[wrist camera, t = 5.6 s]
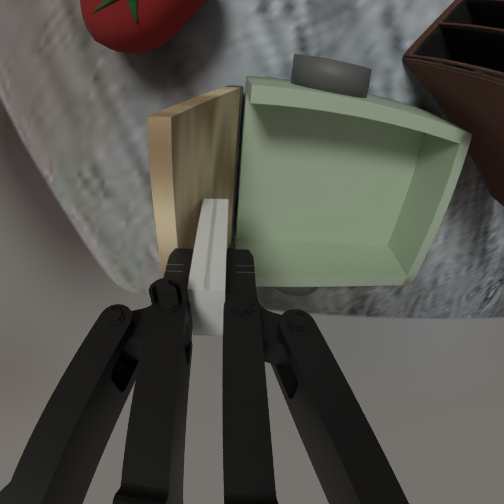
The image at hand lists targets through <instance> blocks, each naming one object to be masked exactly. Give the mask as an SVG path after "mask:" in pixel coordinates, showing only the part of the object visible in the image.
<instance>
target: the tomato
mask: <svg viewBox="0 0 504 504" xmlns="http://www.w3.org/2000/svg"><path fill="white" fill-rule="evenodd" d="M206 1H207V0H80V3H81V11H82V16H83V20H84V23H85V25H86V28H87V30H88V31H89V33H90V34H91V35H92V37H93V38H94V40H95V41H96V42H98V43H100V44H102V45H104V46H106V47H108V48H110V49H112V50H115V51H118V52H127V53H134V54H137V53H142V52H146V51H151V50H156V49H157V48H159V47H160V46H162V45H163V44H165V43H166V42H168V41H169V40H170V39H172V38H173V37H175V36H176V34H177V33H178V32H179V31H180V30H181V29H182V28H183V27H184V26H185V24H186V23H187V22H188V21H189V20H190V19H191V18H192V17H193V16H194V15H195V14H196V13H197V12H198V11H199V10H200V9H201V8H202V7H203V6H204V5H205V3H206Z"/></svg>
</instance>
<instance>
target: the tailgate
mask: <svg viewBox="0 0 504 504" xmlns="http://www.w3.org/2000/svg"><path fill="white" fill-rule="evenodd" d="M242 99H243V87H242V86H225V87H223V88H220V89H217V90H214V91H211V92H208V93H205V94H203V95H200V96H197V97H194V98H192V99H189V100H186V101H184V102H181V103H179V104H176V105H174V106H171V107H169V108H166V109H164V110H162V111H159V112H157V113H155V114H152V115H150V116H148V117H147V126H148V146H149V161H150V175H151V186H152V197H153V206H154V215H155V224H156V232H157V240H158V247H159V254H160V261H161V267H162V274H163V277H164V273H165V269H166V265H167V262H168V258H169V255H170V254H171V253H172V252H173V250H174V249H175V248H185V249H194V245H195V240H196V234H197V229H198V223H199V218H200V213H201V208H202V203H203V199H229V200H228V233H227V249H228V248H229V246H230V244H231V242H233V240H234V223H235V205H236V188H237V171H238V156H239V141H240V126H241V113H242Z"/></svg>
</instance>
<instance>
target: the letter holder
mask: <svg viewBox="0 0 504 504" xmlns="http://www.w3.org/2000/svg"><path fill="white" fill-rule="evenodd" d="M403 60H404V61H405V62H406V63H407V64H408V66H409V67H410V68H411V69H412V70H413V71H414V72H415V74H416V75H417V76H418V77H419V78H420V80H421V81H422V82H423V83H424V84H425V86H426V87H427V88H428V90H429V91H430V92H431V94H432V95H433V96H434V98H435V99H436V101H437V102H438V103H439V105H440V106H441V108H442V109H443V111H444V112H445V114H446V115H447V117H448V118H449V120H450V121H451V123H453V124H455V125H457V126H459V127H460V128H462V129H464V130H466V131H468V132H469V133H471V134H472V138H471V141H470V145H469V148H468V151H469V153H470V154H471V156H472V158H473V160H474V162H475V163H476V165H477V167H478V169H479V171H480V173H481V175H482V177H483V179H484V181H485V183H486V185H487V187H488V189H489V192H490V194H491V196H492V197H493V198H494V199H495V200H497V201H498V202H499V203H500V204H502V205H503V206H504V0H455V1H454V2H453V3H452V4H451V5H450V6H449V7H448V8H447V9H446V10H445V11H444V12H443V13H442V14H441V15H440V16H439V17H438V18H437V19H436V20H435V22H434V23H433V24H432V25H431V26H430V27H429V28H428V29H427V30H426V31H425V32H424V33H423V34H422V35H421V36H420V37H419V38H418V39H417V40H416V41H415V42H414V44H413V45H412V46H411V47H410V48H409V49H408V50H407V51H406V52H405V54H404V56H403Z"/></svg>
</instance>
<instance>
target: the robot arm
mask: <svg viewBox="0 0 504 504" xmlns="http://www.w3.org/2000/svg"><path fill="white" fill-rule="evenodd" d="M228 200H229V199H203V203H202V208H201V213H200V218H199V223H198V229H197V234H196V240H195V245H194V249H185V248H175V249H174V250H173V252H172V253H171V254H170V255H169V258H168V262H167V265H166V269H165V273H164V277H163V278H162V279H159V280H156V281H155V282H154V283H153V284H151V286H150V288H149V294H150V298H151V302H152V305H151V306H149V307H147V308H143V309H139V310H134V311H131V310H130V309H129V308H128V307H127V306H124V305H120V304H117V305H111V306H110V307H108V308H106V309H105V310H104V311H103V312H102V313H101V315H100V316H99V318H98V319H97V321H96V322H95V324H94V326H93V327H92V328H91V330H90V332H89V333H88V335H87V336H86V338H85V339H84V341H83V343H82V345H81V346H80V348H79V349H78V351H77V353H76V354H75V356H74V358H73V359H72V361H71V362H70V364H69V366H68V368H67V369H66V371H65V373H64V374H63V376H62V378H61V380H60V382H59V383H58V385H57V387H56V389H55V390H54V392H53V394H52V396H51V398H50V400H49V401H48V403H47V405H46V407H45V409H44V411H43V413H42V415H41V417H40V419H39V421H38V423H37V424H36V426H35V429H34V431H33V433H32V435H31V437H30V439H29V441H28V443H27V445H26V447H25V449H24V452H23V454H22V456H21V458H20V461H19V463H18V465H17V468H16V470H15V472H14V475H13V477H12V480H11V482H10V483H9V484H8V485H7V486H6V487H4V488H3V490H1V491H0V504H82V503H83V501H84V498H85V496H86V493H87V491H88V488H89V486H90V483H91V481H92V478H93V476H94V473H95V471H96V468H97V466H98V464H99V461H100V459H101V456H102V454H103V452H104V449H105V447H106V445H107V442H108V440H109V438H110V435H111V433H112V431H113V429H114V426H115V424H116V422H117V420H118V417H119V415H120V413H121V411H122V408H123V406H124V404H125V402H126V400H127V398H128V395H129V393H130V391H131V389H132V387H133V385H134V383H135V387H134V393H133V399H132V405H131V411H130V417H129V423H128V430H127V437H126V445H125V453H124V461H123V470H122V480H121V487H120V489H119V490H118V491H117V493H116V494H115V496H114V499H113V504H183V474H184V451H185V450H184V449H185V433H186V417H187V416H186V415H187V402H188V390H189V389H188V388H189V377H190V366H191V356H192V340H191V338H192V331H193V335H213V336H223V470H224V504H278V501H277V498H276V491H275V479H274V467H273V455H272V444H271V432H270V421H269V409H268V398H267V387H266V375H265V364H264V362H268V363H271V365H272V367H273V370H274V373H275V375H276V378H277V380H278V382H279V385H280V388H281V390H282V393H283V395H284V397H285V400H286V402H287V405H288V407H289V410H290V412H291V415H292V417H293V420H294V422H295V424H296V427H297V429H298V432H299V434H300V437H301V439H302V441H303V444H304V446H305V448H306V451H307V453H308V455H309V458H310V460H311V462H312V465H313V467H314V470H315V472H316V474H317V477H318V479H319V481H320V484H321V486H322V488H323V490H324V493H325V495H326V498H327V500H328V502H329V504H409V503H408V501H407V499H406V497H405V495H404V493H403V490H402V489H401V487H400V484H399V482H398V480H397V478H396V476H395V474H394V472H393V470H392V468H391V466H390V465H389V463H388V460H387V458H386V456H385V454H384V452H383V450H382V448H381V446H380V444H379V443H378V440H377V439H376V436H375V435H374V432H373V431H372V429H371V427H370V425H369V423H368V421H367V419H366V417H365V415H364V414H363V411H362V409H361V407H360V405H359V403H358V402H357V400H356V398H355V396H354V394H353V392H352V390H351V388H350V386H349V384H348V383H347V381H346V379H345V377H344V375H343V373H342V371H341V369H340V367H339V365H338V364H337V362H336V360H335V358H334V356H333V354H332V352H331V350H330V349H329V347H328V345H327V343H326V341H325V339H324V337H323V336H322V334H321V332H320V330H319V328H318V326H317V325H316V323H315V321H314V319H313V318H312V317H311V316H310V314H308V313H306V312H305V311H302V310H298V309H295V310H289V311H286V312H284V313H283V314H282V315H280V314H276V313H273V312H270V311H267V310H266V309H264V308H263V307H262V306H261V305H260V304H259V302H258V300H257V294H256V281H255V268H254V257H253V255H252V254H251V252H250V251H249V249H227V233H228ZM135 380H136V382H135Z"/></svg>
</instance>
